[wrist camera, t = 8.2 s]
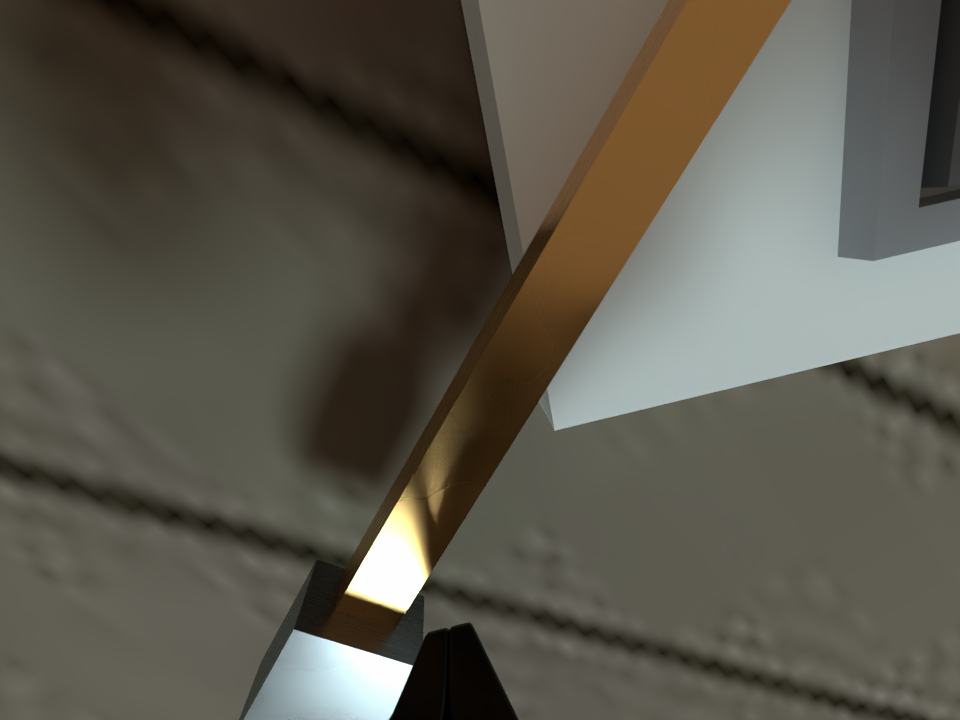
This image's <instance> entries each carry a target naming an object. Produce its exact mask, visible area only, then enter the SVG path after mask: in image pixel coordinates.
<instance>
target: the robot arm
mask: <svg viewBox="0 0 960 720" xmlns="http://www.w3.org/2000/svg"><path fill="white" fill-rule="evenodd" d="M390 720H518V718H517V715H516V713H515V711H514V709H513V707H512V705H511V703H510V701H509V699H508V697H507V695H506V693H505V691H504V689H503V687H502V685H501V683H500V681H499V678H498V676H497V674H496V672H495V670H494V668H493V666H492V664H491V662H490V660H489V658H488V656H487V654H486V652H485V650H484V648H483V646H482V644H481V641H480V639H479V637H478V635H477V633H476V631H475V629H474V627H473V625H472V624H471V623H464V624H460V625H456V626H453V627H451V628H450V630H449V629H447V628H443V629H439V630H435V631H431V632H429V633H428V634H427V635H426V636H425V638H424V641H423V643H422V645H421V648H420V650H419V652H418V655H417V657H416V659H415V662H414V664H413V667H412V669H411V671H410V674H409V676H408V678H407V681H406V683H405V685H404V688H403V690H402V692H401V695H400V697H399V699H398V702H397V704H396V706H395V709H394V711H393V713H392V716H391V718H390Z"/></svg>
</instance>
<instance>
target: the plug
mask: <svg viewBox="0 0 960 720" xmlns="http://www.w3.org/2000/svg"><path fill="white" fill-rule="evenodd" d="M958 184H960V0H942V1H941V10H940V19H939V28H938V37H937V46H936V55H935V64H934V73H933V82H932V91H931V100H930V109H929V118H928V127H927V136H926V145H925V154H924V163H923V172H922V181H921V188H934V187H950V186H954V185H958Z"/></svg>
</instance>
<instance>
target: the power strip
mask: <svg viewBox="0 0 960 720" xmlns="http://www.w3.org/2000/svg"><path fill="white" fill-rule="evenodd" d="M941 1H942V0H791V2H790V4H789V5H788V7H787V8H786V10H785V11H784V13H783V15H782V16H781V18H780V19H779V21H778V23H777V24H776V26H775V27H774V29H773V30H772V32H771V34H770V35H769V37H768V38H767V40H766V42H765V43H764V45H763V46H762V48H761V50H760V51H759V53H758V54H757V56H756V57H755V59H754V61H753V62H752V64H751V65H750V67H749V69H748V70H747V72H746V73H745V75H744V76H743V78H742V80H741V81H740V83H739V84H738V86H737V88H736V89H735V91H734V92H733V94H732V96H731V97H730V99H729V100H728V102H727V103H726V105H725V107H724V108H723V110H722V111H721V113H720V115H719V116H718V118H717V119H716V121H715V122H714V124H713V126H712V127H711V129H710V130H709V132H708V134H707V135H706V137H705V138H704V140H703V141H702V143H701V145H700V146H699V148H698V149H697V151H696V153H695V154H694V156H693V157H692V159H691V161H690V162H689V164H688V165H687V167H686V168H685V170H684V172H683V173H682V175H681V176H680V178H679V180H678V181H677V183H676V184H675V186H674V187H673V189H672V191H671V192H670V194H669V195H668V197H667V199H666V200H665V202H664V203H663V205H662V206H661V208H660V210H659V211H658V213H657V214H656V216H655V218H654V219H653V221H652V222H651V224H650V226H649V227H648V229H647V230H646V232H645V233H644V235H643V237H642V238H641V240H640V241H639V243H638V245H637V246H636V248H635V249H634V251H633V252H632V254H631V256H630V257H629V259H628V260H627V262H626V264H625V265H624V267H623V268H622V270H621V272H620V273H619V275H618V276H617V278H616V279H615V281H614V283H613V284H612V286H611V287H610V289H609V291H608V292H607V294H606V295H605V297H604V298H603V300H602V302H601V303H600V305H599V306H598V308H597V310H596V311H595V313H594V314H593V316H592V317H591V319H590V321H589V322H588V324H587V325H586V327H585V329H584V330H583V332H582V333H581V335H580V337H579V338H578V340H577V341H576V343H575V344H574V346H573V348H572V349H571V351H570V352H569V354H568V356H567V357H566V359H565V360H564V362H563V363H562V365H561V367H560V368H559V370H558V371H557V373H556V375H555V376H554V378H553V379H552V381H551V382H550V384H549V386H548V387H547V389H546V390H545V392H544V394H543V395H542V397H541V398H540V400H539V403H540V405H541V407H542V409H543V410H544V412H545V414H546V416H547V418H548V419H549V421H550V423H551V425H552V427H553V429H554V430H559V429H563V428H567V427H571V426H575V425H580V424H584V423H588V422H592V421H596V420H600V419H604V418H609V417H613V416H617V415H621V414H625V413H629V412H634V411H638V410H642V409H646V408H650V407H654V406H658V405H663V404H667V403H671V402H675V401H679V400H683V399H688V398H692V397H696V396H700V395H704V394H708V393H712V392H717V391H721V390H725V389H729V388H733V387H737V386H742V385H746V384H750V383H754V382H758V381H762V380H766V379H771V378H775V377H779V376H783V375H787V374H791V373H795V372H800V371H804V370H808V369H812V368H816V367H820V366H825V365H829V364H833V363H837V362H841V361H845V360H849V359H854V358H858V357H862V356H866V355H870V354H874V353H879V352H883V351H887V350H891V349H895V348H899V347H903V346H908V345H912V344H916V343H920V342H924V341H928V340H933V339H937V338H941V337H945V336H949V335H953V334H957V333H960V184H958V185H954V186H950V187H934V188H921V181H922V172H923V163H924V154H925V145H926V136H927V127H928V118H929V109H930V100H931V91H932V82H933V73H934V64H935V55H936V46H937V37H938V28H939V19H940V10H941ZM667 2H668V0H461V4H462V9H463V14H464V20H465V25H466V30H467V36H468V41H469V46H470V52H471V57H472V62H473V68H474V73H475V78H476V83H477V89H478V94H479V99H480V105H481V110H482V115H483V121H484V126H485V131H486V137H487V142H488V147H489V153H490V158H491V163H492V169H493V174H494V179H495V184H496V190H497V195H498V200H499V206H500V211H501V216H502V222H503V227H504V232H505V238H506V243H507V248H508V254H509V259H510V264H511V270H512V275H513V273H514V271H515V269H516V268H517V266H518V264H519V262H520V261H521V259H522V257H523V255H524V254H525V252H526V250H527V248H528V247H529V245H530V243H531V241H532V240H533V238H534V236H535V234H536V233H537V231H538V229H539V227H540V225H541V224H542V222H543V220H544V218H545V217H546V215H547V213H548V211H549V210H550V208H551V206H552V204H553V203H554V201H555V199H556V197H557V196H558V194H559V192H560V190H561V189H562V187H563V185H564V183H565V182H566V180H567V178H568V176H569V175H570V173H571V171H572V169H573V167H574V166H575V164H576V162H577V160H578V159H579V157H580V155H581V153H582V152H583V150H584V148H585V146H586V145H587V143H588V141H589V139H590V138H591V136H592V134H593V132H594V131H595V129H596V127H597V125H598V124H599V122H600V120H601V118H602V116H603V115H604V113H605V111H606V109H607V108H608V106H609V104H610V102H611V101H612V99H613V97H614V95H615V94H616V92H617V90H618V88H619V87H620V85H621V83H622V81H623V80H624V78H625V76H626V74H627V73H628V71H629V69H630V67H631V66H632V64H633V62H634V60H635V58H636V57H637V55H638V53H639V51H640V50H641V48H642V46H643V44H644V43H645V41H646V39H647V37H648V36H649V34H650V32H651V30H652V29H653V27H654V25H655V23H656V22H657V20H658V18H659V16H660V15H661V13H662V11H663V9H664V8H665V6H666V4H667Z"/></svg>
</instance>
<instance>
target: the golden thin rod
mask: <svg viewBox="0 0 960 720" xmlns="http://www.w3.org/2000/svg"><path fill="white" fill-rule="evenodd" d="M790 2H791V0H668V2H667V4H666V6H665V8H664V9H663V11H662V13H661V15H660V16H659V18H658V20H657V22H656V23H655V25H654V27H653V29H652V30H651V32H650V34H649V36H648V37H647V39H646V41H645V43H644V44H643V46H642V48H641V50H640V51H639V53H638V55H637V57H636V58H635V60H634V62H633V64H632V66H631V67H630V69H629V71H628V73H627V74H626V76H625V78H624V80H623V81H622V83H621V85H620V87H619V88H618V90H617V92H616V94H615V95H614V97H613V99H612V101H611V102H610V104H609V106H608V108H607V109H606V111H605V113H604V115H603V116H602V118H601V120H600V122H599V124H598V125H597V127H596V129H595V131H594V132H593V134H592V136H591V138H590V139H589V141H588V143H587V145H586V146H585V148H584V150H583V152H582V153H581V155H580V157H579V159H578V160H577V162H576V164H575V166H574V167H573V169H572V171H571V173H570V175H569V176H568V178H567V180H566V182H565V183H564V185H563V187H562V189H561V190H560V192H559V194H558V196H557V197H556V199H555V201H554V203H553V204H552V206H551V208H550V210H549V211H548V213H547V215H546V217H545V218H544V220H543V222H542V224H541V225H540V227H539V229H538V231H537V233H536V234H535V236H534V238H533V240H532V241H531V243H530V245H529V247H528V248H527V250H526V252H525V254H524V255H523V257H522V259H521V261H520V262H519V264H518V266H517V268H516V269H515V271H514V273H513V275H512V276H511V278H510V280H509V282H508V283H507V285H506V287H505V289H504V291H503V292H502V294H501V296H500V298H499V299H498V301H497V303H496V305H495V306H494V308H493V310H492V312H491V313H490V315H489V317H488V319H487V320H486V322H485V324H484V326H483V327H482V329H481V331H480V333H479V334H478V336H477V338H476V340H475V342H474V343H473V345H472V347H471V349H470V350H469V352H468V354H467V356H466V357H465V359H464V361H463V363H462V364H461V366H460V368H459V370H458V371H457V373H456V375H455V377H454V378H453V380H452V382H451V384H450V385H449V387H448V389H447V391H446V392H445V394H444V396H443V398H442V400H441V401H440V403H439V405H438V407H437V408H436V410H435V412H434V414H433V415H432V417H431V419H430V421H429V422H428V424H427V426H426V428H425V429H424V431H423V433H422V435H421V436H420V438H419V440H418V442H417V443H416V445H415V447H414V449H413V450H412V452H411V454H410V456H409V458H408V459H407V461H406V463H405V465H404V466H403V468H402V470H401V472H400V473H399V475H398V477H397V479H396V480H395V482H394V484H393V486H392V487H391V489H390V491H389V493H388V494H387V496H386V498H385V500H384V501H383V503H382V505H381V507H380V509H379V510H378V512H377V514H376V516H375V517H374V519H373V521H372V523H371V524H370V526H369V528H368V530H367V531H366V533H365V535H364V537H363V538H362V540H361V542H360V544H359V545H358V547H357V549H356V551H355V552H354V554H353V556H352V558H351V559H350V561H349V563H348V565H347V567H346V568H345V569H344V568H341V567H338V566H335V565H332V564H329V563H326V562H323V561H321V560H318V559H317V560H316V562H315V564H314V566H313V568H312V570H311V571H310V573H309V575H308V577H307V579H306V581H305V582H304V584H303V586H302V588H301V590H300V592H299V593H298V595H297V597H296V599H295V601H294V603H293V604H292V606H291V608H290V610H289V612H288V614H287V615H286V617H285V619H284V621H283V623H282V625H281V626H280V628H279V630H278V632H277V634H276V636H275V637H274V639H273V641H272V643H271V645H270V647H269V648H268V650H267V652H266V654H265V656H264V658H263V659H262V661H261V664H260V666H259V669H258V672H257V674H256V677H255V679H254V682H253V685H252V687H251V690H250V693H249V695H248V698H247V700H246V703H245V706H244V708H243V711H242V714H241V716H240V719H239V720H388V719H389V718H390V716H391V715H392V713H393V711H394V709H395V706H396V704H397V702H398V699H399V697H400V695H401V692H402V690H403V688H404V685H405V683H406V681H407V678H408V676H409V674H410V671H411V669H412V667H413V664H414V662H415V659H416V657H417V655H418V652H419V650H420V648H421V645H422V643H423V621H424V596H421V595H418V594H417V593H418V592H419V590H420V589H421V587H422V585H423V584H424V582H425V581H426V579H427V578H428V576H429V574H430V573H431V571H432V570H433V568H434V566H435V565H436V563H437V562H438V560H439V558H440V557H441V555H442V554H443V552H444V551H445V549H446V547H447V546H448V544H449V543H450V541H451V539H452V538H453V536H454V535H455V533H456V532H457V530H458V528H459V527H460V525H461V524H462V522H463V520H464V519H465V517H466V516H467V514H468V513H469V511H470V509H471V508H472V506H473V505H474V503H475V501H476V500H477V498H478V497H479V495H480V493H481V492H482V490H483V489H484V487H485V486H486V484H487V482H488V481H489V479H490V478H491V476H492V474H493V473H494V471H495V470H496V468H497V467H498V465H499V463H500V462H501V460H502V459H503V457H504V455H505V454H506V452H507V451H508V449H509V448H510V446H511V444H512V443H513V441H514V440H515V438H516V436H517V435H518V433H519V432H520V430H521V428H522V427H523V425H524V424H525V422H526V421H527V419H528V417H529V416H530V414H531V413H532V411H533V409H534V408H535V406H536V405H537V403H538V402H539V400H540V398H541V397H542V395H543V394H544V392H545V390H546V389H547V387H548V386H549V384H550V382H551V381H552V379H553V378H554V376H555V375H556V373H557V371H558V370H559V368H560V367H561V365H562V363H563V362H564V360H565V359H566V357H567V356H568V354H569V352H570V351H571V349H572V348H573V346H574V344H575V343H576V341H577V340H578V338H579V337H580V335H581V333H582V332H583V330H584V329H585V327H586V325H587V324H588V322H589V321H590V319H591V317H592V316H593V314H594V313H595V311H596V310H597V308H598V306H599V305H600V303H601V302H602V300H603V298H604V297H605V295H606V294H607V292H608V291H609V289H610V287H611V286H612V284H613V283H614V281H615V279H616V278H617V276H618V275H619V273H620V272H621V270H622V268H623V267H624V265H625V264H626V262H627V260H628V259H629V257H630V256H631V254H632V252H633V251H634V249H635V248H636V246H637V245H638V243H639V241H640V240H641V238H642V237H643V235H644V233H645V232H646V230H647V229H648V227H649V226H650V224H651V222H652V221H653V219H654V218H655V216H656V214H657V213H658V211H659V210H660V208H661V206H662V205H663V203H664V202H665V200H666V199H667V197H668V195H669V194H670V192H671V191H672V189H673V187H674V186H675V184H676V183H677V181H678V180H679V178H680V176H681V175H682V173H683V172H684V170H685V168H686V167H687V165H688V164H689V162H690V161H691V159H692V157H693V156H694V154H695V153H696V151H697V149H698V148H699V146H700V145H701V143H702V141H703V140H704V138H705V137H706V135H707V134H708V132H709V130H710V129H711V127H712V126H713V124H714V122H715V121H716V119H717V118H718V116H719V115H720V113H721V111H722V110H723V108H724V107H725V105H726V103H727V102H728V100H729V99H730V97H731V96H732V94H733V92H734V91H735V89H736V88H737V86H738V84H739V83H740V81H741V80H742V78H743V76H744V75H745V73H746V72H747V70H748V69H749V67H750V65H751V64H752V62H753V61H754V59H755V57H756V56H757V54H758V53H759V51H760V50H761V48H762V46H763V45H764V43H765V42H766V40H767V38H768V37H769V35H770V34H771V32H772V30H773V29H774V27H775V26H776V24H777V23H778V21H779V19H780V18H781V16H782V15H783V13H784V11H785V10H786V8H787V7H788V5H789V4H790Z"/></svg>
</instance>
